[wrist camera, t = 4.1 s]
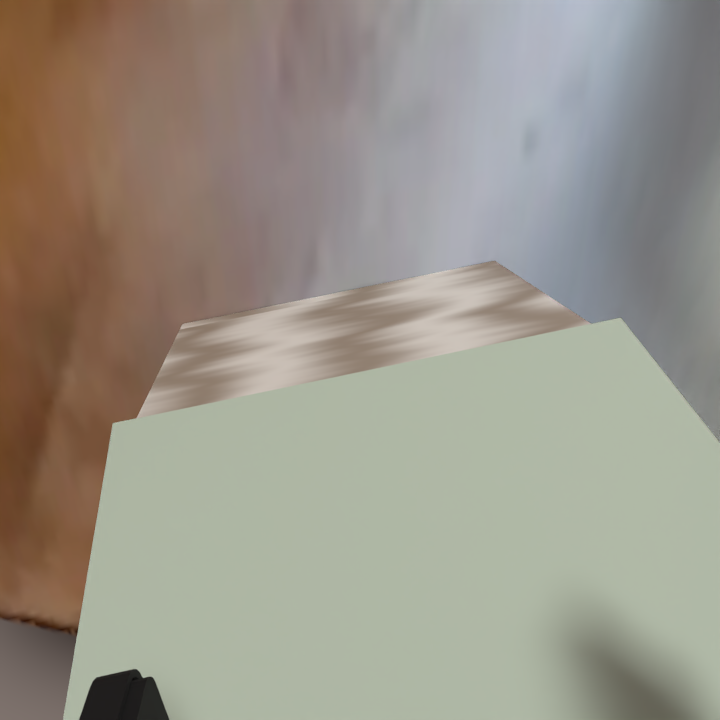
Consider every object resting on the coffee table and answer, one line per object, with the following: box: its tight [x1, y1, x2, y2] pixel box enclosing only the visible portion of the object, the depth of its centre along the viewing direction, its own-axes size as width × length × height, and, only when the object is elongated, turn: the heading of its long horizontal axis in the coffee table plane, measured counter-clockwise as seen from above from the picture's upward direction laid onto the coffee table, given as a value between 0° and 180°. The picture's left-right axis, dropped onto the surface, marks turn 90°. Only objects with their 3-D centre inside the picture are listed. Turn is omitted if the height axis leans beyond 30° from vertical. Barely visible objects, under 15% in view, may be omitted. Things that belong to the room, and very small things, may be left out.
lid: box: [63, 318, 720, 720], centre depth 16 cm, size 17×17×1 cm
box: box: [137, 261, 591, 418], centre depth 32 cm, size 17×17×14 cm
